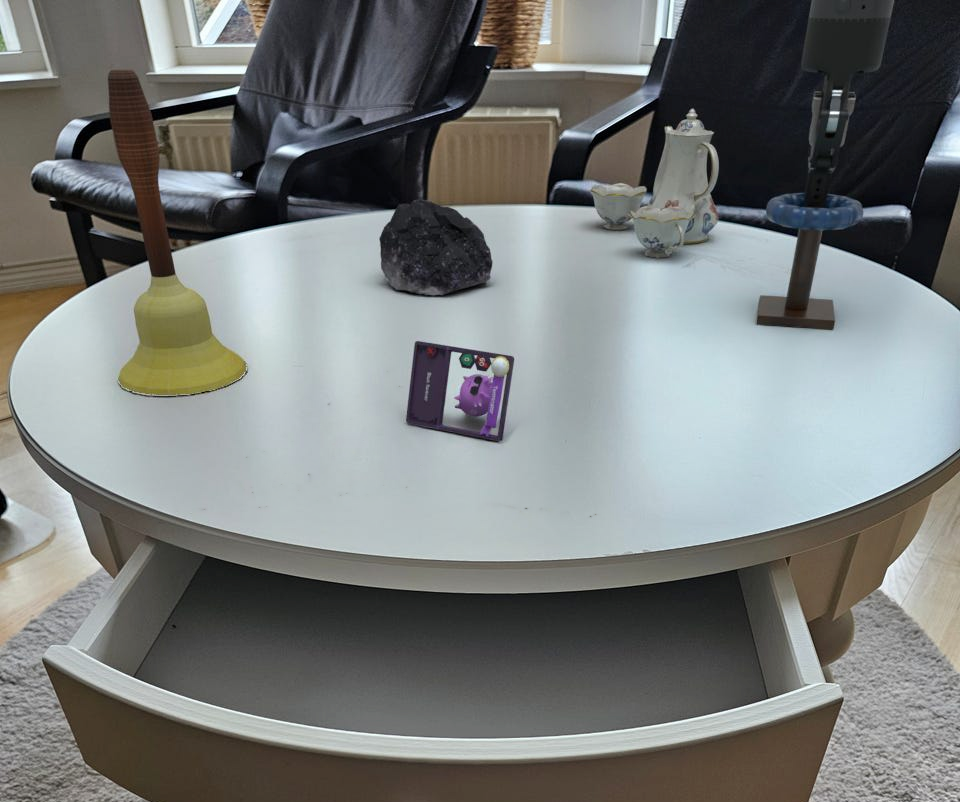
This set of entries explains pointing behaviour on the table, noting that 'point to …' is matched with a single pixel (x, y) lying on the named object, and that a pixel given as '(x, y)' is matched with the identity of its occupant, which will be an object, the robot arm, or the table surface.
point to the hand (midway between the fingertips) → (813, 207)
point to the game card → (474, 391)
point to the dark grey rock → (433, 250)
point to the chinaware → (668, 194)
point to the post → (799, 291)
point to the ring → (814, 212)
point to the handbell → (162, 271)
